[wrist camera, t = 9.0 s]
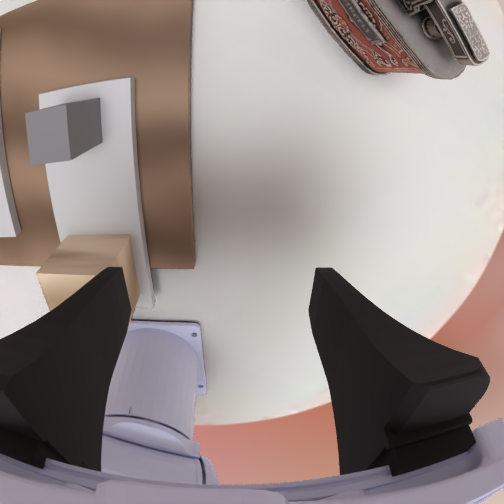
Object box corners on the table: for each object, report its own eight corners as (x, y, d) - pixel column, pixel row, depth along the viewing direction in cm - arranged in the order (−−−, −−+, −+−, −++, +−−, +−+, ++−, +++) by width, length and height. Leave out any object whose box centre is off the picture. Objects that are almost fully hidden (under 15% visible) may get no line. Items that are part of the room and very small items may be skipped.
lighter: (284, -19, 13) (332, -98, 4) (328, -41, 12) (401, -113, 4) (365, 84, 17) (471, 100, 8) (403, 60, 16) (519, 66, 7)
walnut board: (195, 261, 22) (194, 268, 21) (-17, 258, 21) (-23, 264, 20) (195, -28, 13) (193, -33, 12) (-48, 46, 11) (-56, 47, 10)
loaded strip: (155, 301, 22) (142, 349, 18) (82, 297, 22) (59, 341, 18) (134, 77, 15) (101, 78, 11) (45, 93, 14) (-2, 103, 10)
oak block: (140, 293, 21) (124, 340, 17) (82, 291, 21) (59, 334, 17) (130, 234, 19) (106, 275, 15) (68, 235, 18) (36, 273, 14)
